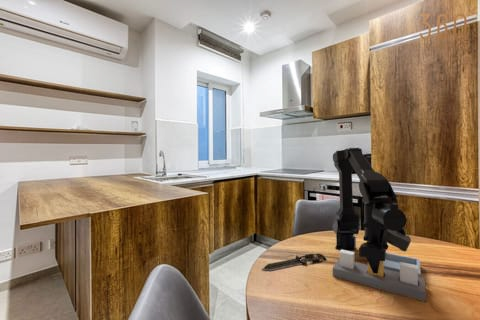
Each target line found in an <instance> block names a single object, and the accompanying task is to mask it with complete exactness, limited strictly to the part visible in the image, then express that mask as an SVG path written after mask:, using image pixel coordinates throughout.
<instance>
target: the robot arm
mask: <svg viewBox="0 0 480 320" xmlns="http://www.w3.org/2000/svg"><path fill="white" fill-rule="evenodd" d="M332 161H333V165H334V168H335V170H337V171H338V180H339V181H338V184H339V187H338V188H339V189H338V190H339V209H338V210H337V212H336V214H335V219H334V221H333V224H332V230H333V233H334V234H335V235H336V238H335V240H336V242H335V243H336V245H335V247H334V248H335V249H338V250H341V249H342V250H347V251H352V252H354V251H355V250H356V248H357V237H356V236H355V235H359V232H360V225H361V223H360V221H359V215H358V214H357V213H356V212H355V210H354V202H353V201H354V200H353V198H354V197H353V171H354V172H355V174H356V176H357V177H358V179H359V182H358V189H359V193H360V194H361V196H362V199H361V201H362V202H363V207H364V208H363V211H364V212H363V216H364V217H363V218H364V221H363V223H362V225H363V228H364V236H363V238H362V239H363V241H365V242H362V243H361V244H360V246H359V248H358V256H359V257H360V258H365V259H366V261H367V264H368V263H369V265H370V267H371V269H372V271H373V273H376V274H377V273H378V269H379V264H380V261H385V259H386V255H387V253H388V252H387V250H388V249H389V245H391V246H393V247H396V248H397V249H399V250H400V251H403V252H405V253H406V252H407V251H408V248H409V246H410V244H411V242H412V240H411V239H412V238H411V237H410V236H409V235H407V231H406V229H404V227H405V226H406V225H407V221H408V219H407V217H406V214H405V213H404V211H403V210H401V209H399V205H398V200H397V198H398V197H397V195H396V193H395V191H394V190H393V187H392V185H391V183H390V181H389V180H388V179H387V177H385V176H384V175H383V174H382V173H379V172H377V171H376V170H374V168H373V167H372V164H370V162H369V161H368V159H366V157H365V155H364V154H363V149H362V148H360V147H347V148H345V149H342V150H336V151H335V152H334V153H333V154H332Z"/></svg>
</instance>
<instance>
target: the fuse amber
mask: <svg viewBox="0 0 480 320" xmlns="http://www.w3.org/2000/svg"><path fill="white" fill-rule="evenodd" d="M367 265H368V273H369V274H373V275H377V276H381V277H384V261H380V264H379V269H378V273H377V274H376V273H373V271H372V269H371V267H370V265H369V263H368V262H367Z"/></svg>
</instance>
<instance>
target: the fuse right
mask: <svg viewBox="0 0 480 320" xmlns="http://www.w3.org/2000/svg"><path fill="white" fill-rule="evenodd" d="M400 281H401V282H405V283H409V284H413V285H417V286H418V265H414V264H409V263H404V262H400Z"/></svg>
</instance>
